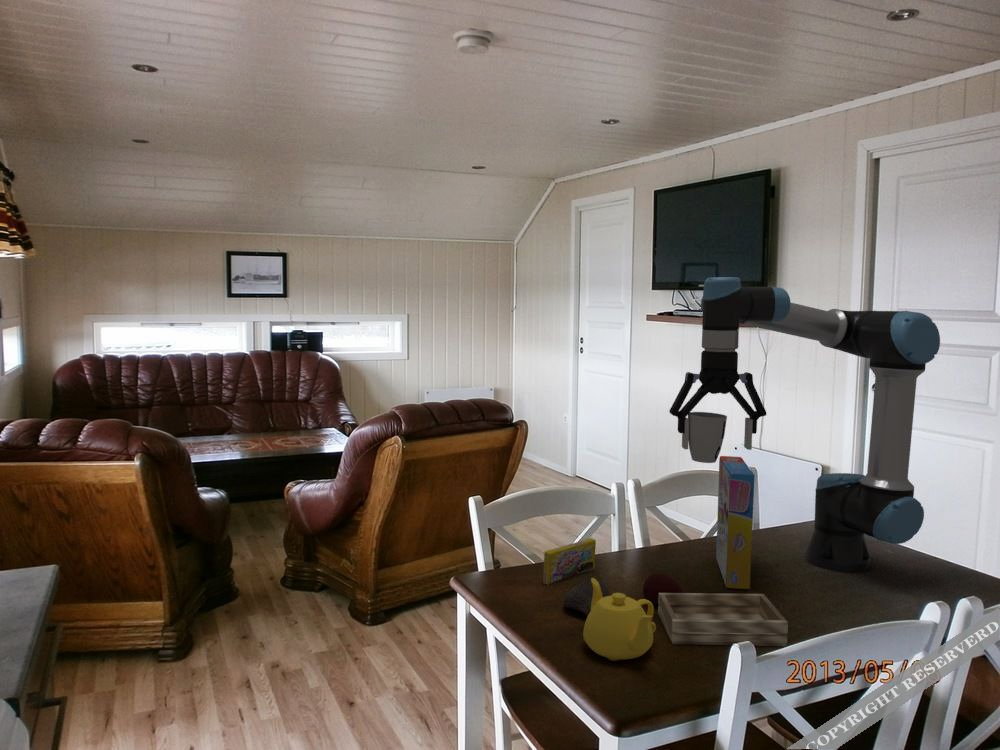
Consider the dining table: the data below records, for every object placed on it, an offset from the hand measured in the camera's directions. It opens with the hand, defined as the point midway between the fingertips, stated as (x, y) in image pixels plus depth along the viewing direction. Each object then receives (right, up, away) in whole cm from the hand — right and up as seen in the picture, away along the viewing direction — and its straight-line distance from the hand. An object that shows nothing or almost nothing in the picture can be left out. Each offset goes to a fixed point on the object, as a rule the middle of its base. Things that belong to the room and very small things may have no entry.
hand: (716, 448), depth 161 cm
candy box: (-30, -33, +18) cm, 48 cm away
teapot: (-24, -37, -20) cm, 48 cm away
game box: (+10, -33, +21) cm, 40 cm away
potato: (-11, -35, +3) cm, 37 cm away
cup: (-3, -3, 0) cm, 4 cm away
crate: (-2, -36, -10) cm, 37 cm away
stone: (-31, -36, 0) cm, 47 cm away
